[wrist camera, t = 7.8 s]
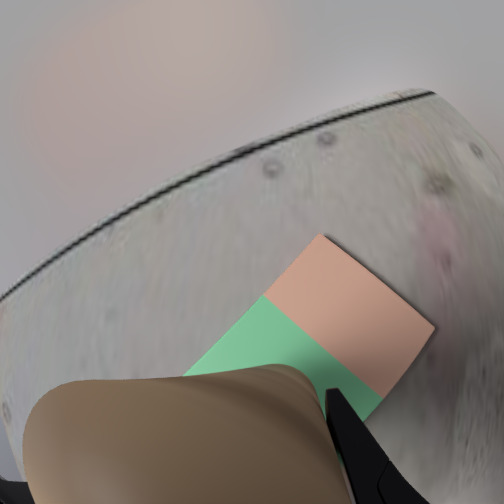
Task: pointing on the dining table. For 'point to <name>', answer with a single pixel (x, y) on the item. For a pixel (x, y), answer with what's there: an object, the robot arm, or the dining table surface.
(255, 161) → the dining table surface
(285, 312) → the board
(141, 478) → the walnut peg
